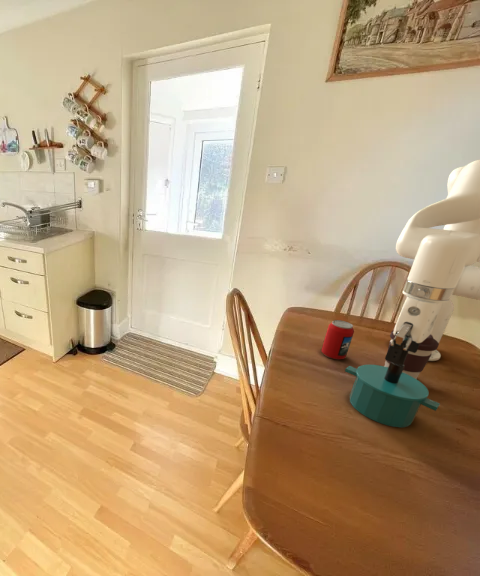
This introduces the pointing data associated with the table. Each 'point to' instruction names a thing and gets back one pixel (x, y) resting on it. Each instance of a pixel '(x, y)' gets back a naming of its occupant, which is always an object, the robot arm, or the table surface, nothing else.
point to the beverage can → (337, 339)
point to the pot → (384, 404)
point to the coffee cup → (417, 356)
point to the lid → (392, 381)
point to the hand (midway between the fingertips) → (400, 355)
